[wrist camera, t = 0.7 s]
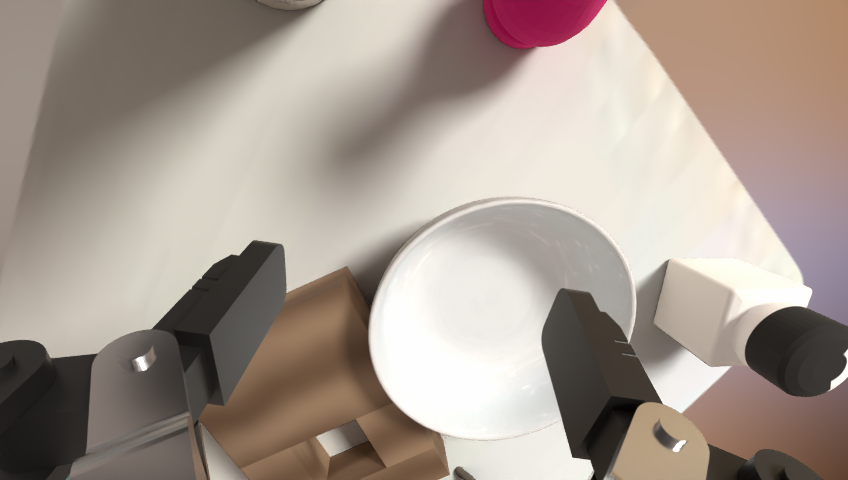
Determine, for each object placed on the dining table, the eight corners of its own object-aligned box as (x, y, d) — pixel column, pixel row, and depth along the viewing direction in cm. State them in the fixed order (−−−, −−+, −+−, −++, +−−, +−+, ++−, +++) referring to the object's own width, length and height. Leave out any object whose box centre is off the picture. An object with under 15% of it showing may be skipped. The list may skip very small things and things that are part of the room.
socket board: (182, 339, 33) (156, 368, 29) (346, 266, 32) (342, 285, 29) (306, 498, 40) (298, 538, 36) (443, 440, 40) (449, 474, 36)
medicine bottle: (651, 323, 38) (766, 412, 26) (667, 257, 35) (801, 323, 24) (715, 322, 38) (854, 407, 27) (735, 257, 36) (896, 320, 25)
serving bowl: (438, 420, 39) (450, 481, 32) (325, 257, 32) (310, 293, 26) (620, 325, 37) (671, 369, 31) (541, 135, 31) (584, 140, 24)
